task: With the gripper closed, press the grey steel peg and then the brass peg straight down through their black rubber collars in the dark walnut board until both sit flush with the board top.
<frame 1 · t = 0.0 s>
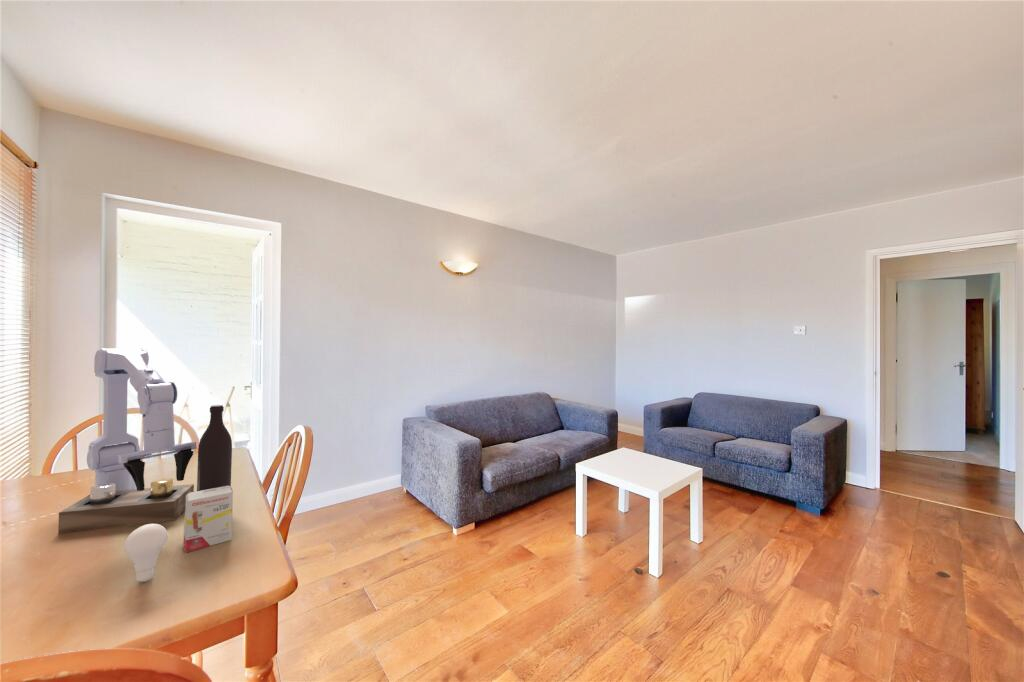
hand: (161, 485, 94), 11 cm above the table, tool pointing down, fingers open, 7 cm apart
wine bottle: (213, 519, 100), on the table
steel peg: (102, 495, 97), point 6 cm above the table, slide at 3.5 cm
ink box: (208, 543, 89), on the table
lightbulb: (145, 581, 74), on the table
peg board: (132, 515, 100), on the table
brass peg: (161, 490, 102), point 6 cm above the table, slide at 3.5 cm
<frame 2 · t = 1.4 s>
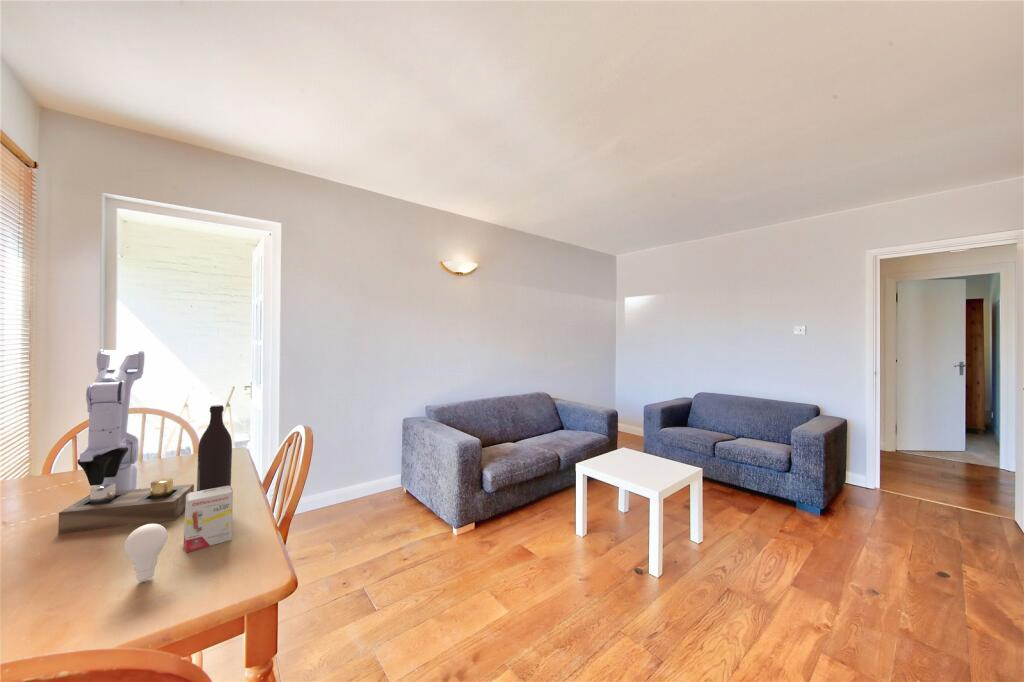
hand: (103, 480, 97), 10 cm above the table, tool pointing down, fingers open, 5 cm apart
nothing on the table moved.
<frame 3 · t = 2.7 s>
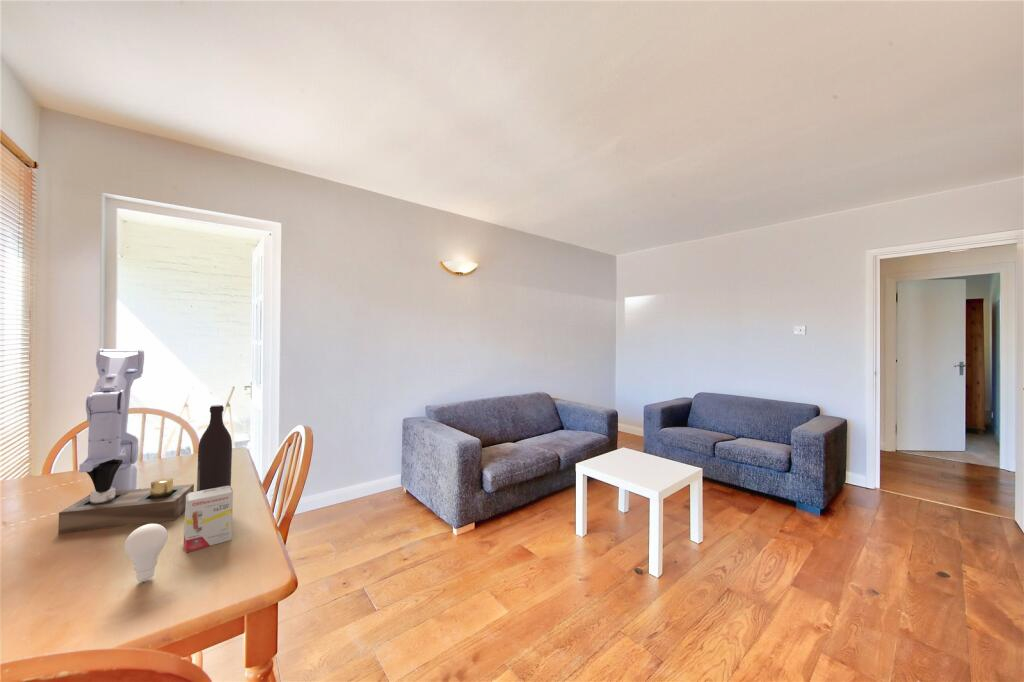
hand: (103, 490, 97), 7 cm above the table, tool pointing down, fingers closed, pressing on steel peg
steel peg: (102, 500, 97), point 5 cm above the table, slide at 2.4 cm, touching gripper
everything else where it was.
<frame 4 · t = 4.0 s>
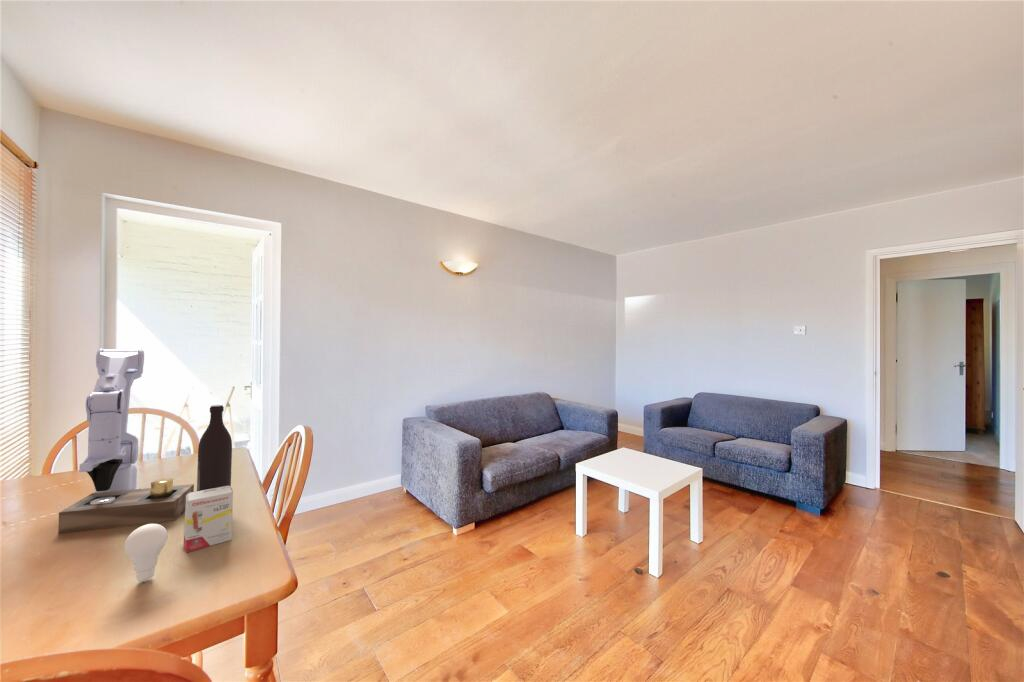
hand: (103, 490, 97), 7 cm above the table, tool pointing down, fingers closed
steel peg: (102, 509, 97), point 2 cm above the table, slide at -0.1 cm
everything else where it was.
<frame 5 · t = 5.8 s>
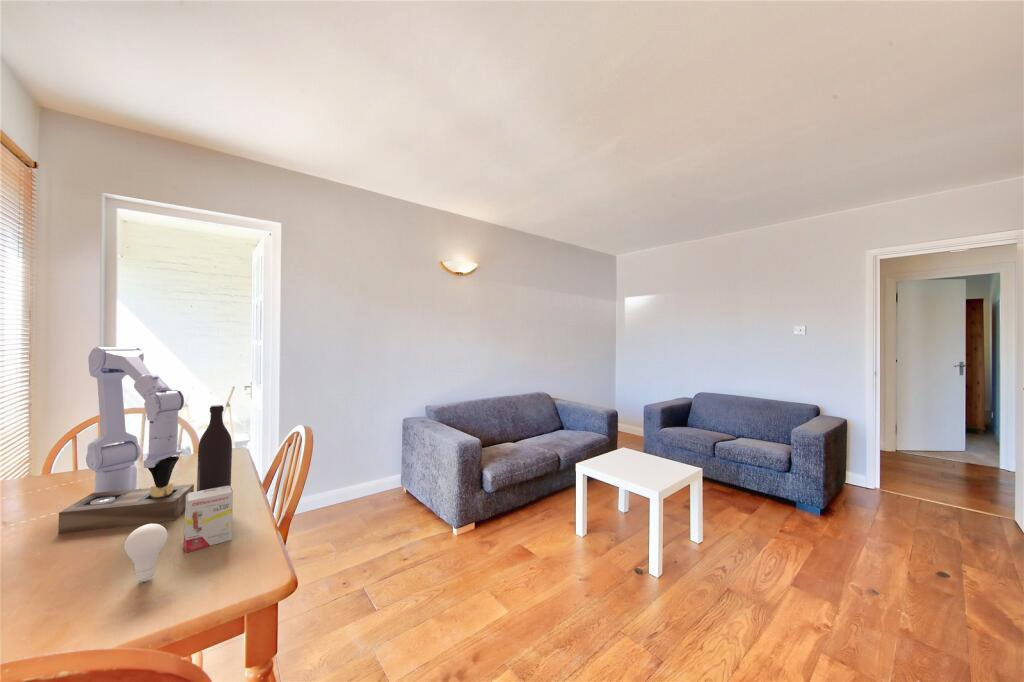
hand: (162, 486, 102), 7 cm above the table, tool pointing down, fingers closed, pressing on brass peg
brass peg: (161, 494, 102), point 5 cm above the table, slide at 2.3 cm, touching gripper
everything else where it was.
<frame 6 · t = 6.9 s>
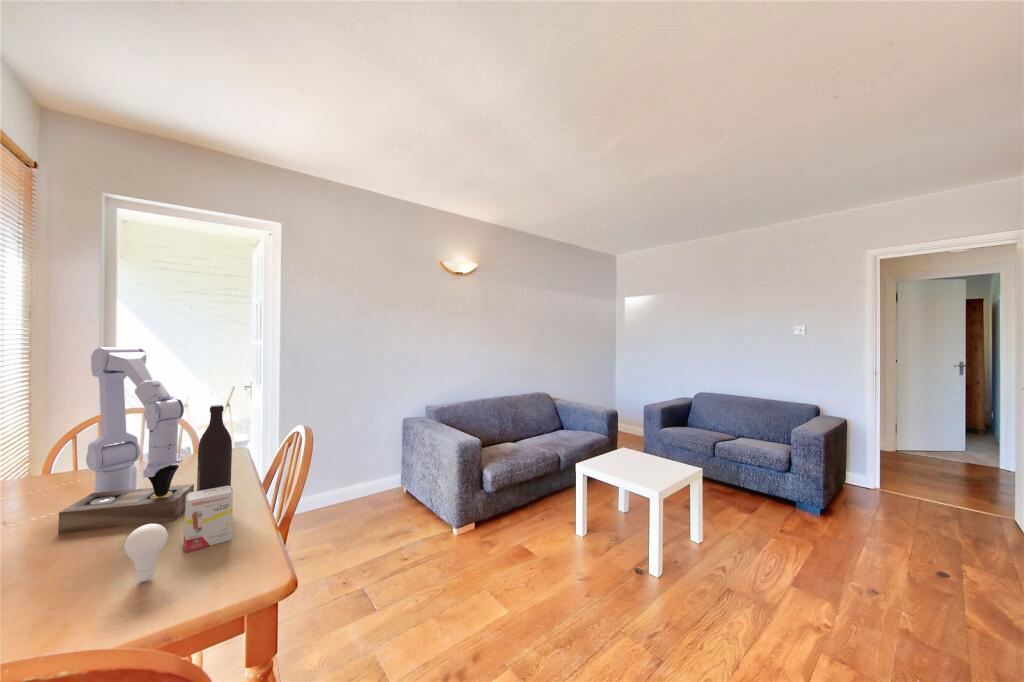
hand: (161, 494, 102), 5 cm above the table, tool pointing down, fingers closed
brass peg: (161, 503, 102), point 2 cm above the table, slide at -0.1 cm
everything else where it was.
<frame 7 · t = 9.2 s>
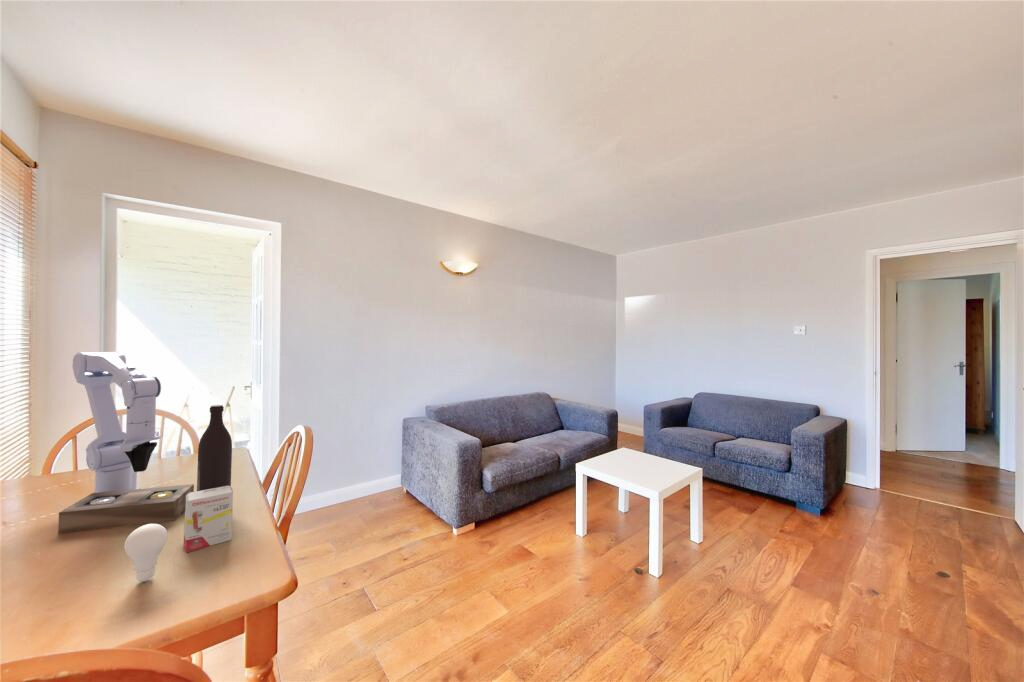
hand: (140, 470, 104), 10 cm above the table, tool pointing down, fingers closed
nothing on the table moved.
at the end: steel peg slide at -0.1 cm; brass peg slide at -0.1 cm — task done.
